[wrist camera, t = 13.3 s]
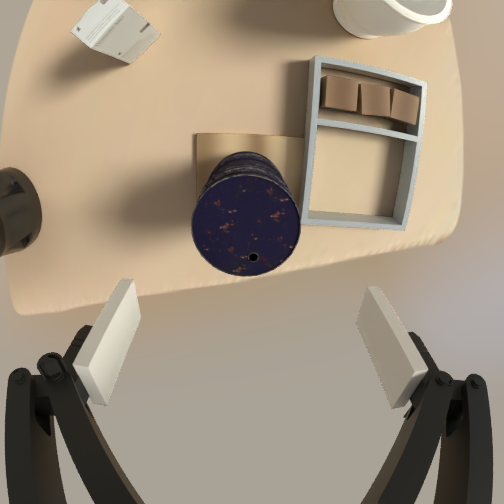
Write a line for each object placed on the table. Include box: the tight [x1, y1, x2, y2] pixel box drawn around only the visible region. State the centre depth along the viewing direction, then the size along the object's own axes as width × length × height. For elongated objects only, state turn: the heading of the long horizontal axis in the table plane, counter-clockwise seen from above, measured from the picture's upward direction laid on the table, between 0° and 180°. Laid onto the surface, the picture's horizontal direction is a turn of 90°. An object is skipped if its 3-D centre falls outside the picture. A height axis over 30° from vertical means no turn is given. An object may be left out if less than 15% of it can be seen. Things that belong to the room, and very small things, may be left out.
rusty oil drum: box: [191, 151, 301, 276], centre depth 33 cm, size 10×10×15 cm
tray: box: [298, 55, 427, 231], centre depth 36 cm, size 16×22×3 cm
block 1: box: [319, 75, 358, 111], centre depth 32 cm, size 4×4×4 cm
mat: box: [196, 133, 305, 208], centre depth 40 cm, size 14×14×1 cm
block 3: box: [381, 88, 420, 125], centre depth 33 cm, size 4×4×4 cm
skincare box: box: [70, 0, 161, 64], centre depth 24 cm, size 6×4×12 cm
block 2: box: [352, 84, 390, 117], centre depth 33 cm, size 4×4×4 cm
